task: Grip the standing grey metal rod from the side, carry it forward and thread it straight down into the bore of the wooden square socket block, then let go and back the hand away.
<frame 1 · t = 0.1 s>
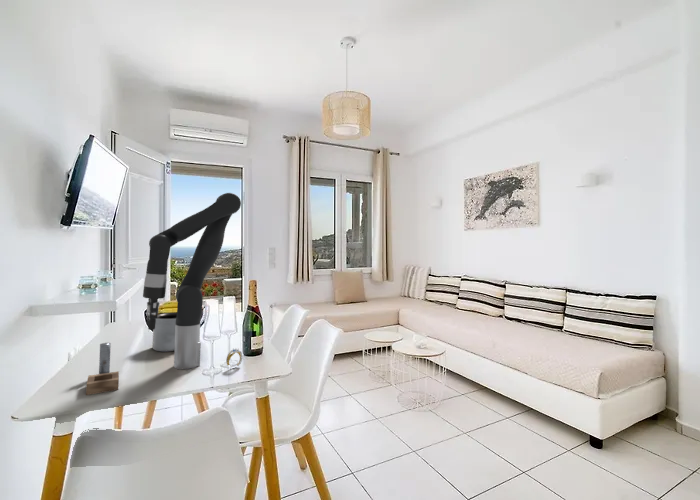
hand: (150, 327, 131), 17 cm above the table, tool pointing down, fingers open, 8 cm apart
ring: (234, 368, 138), on the table
planter: (171, 348, 163), on the table
wooden square socket block: (103, 387, 115), on the table
rod: (104, 376, 125), on the table
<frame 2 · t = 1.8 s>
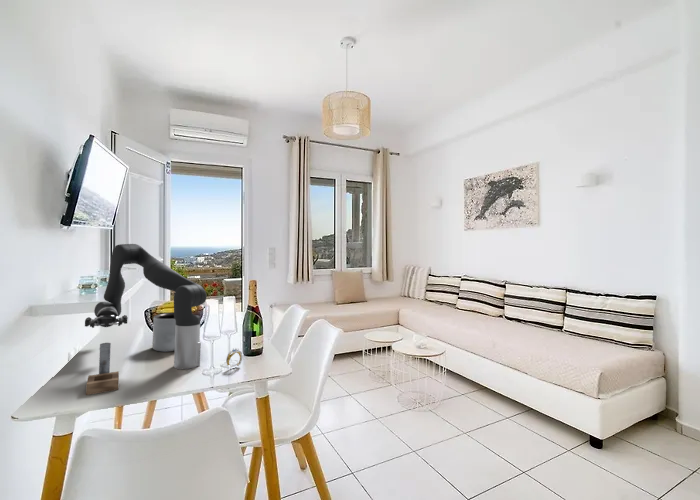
hand: (106, 324, 135), 17 cm above the table, tool horizontal, fingers open, 8 cm apart
nothing on the table moved.
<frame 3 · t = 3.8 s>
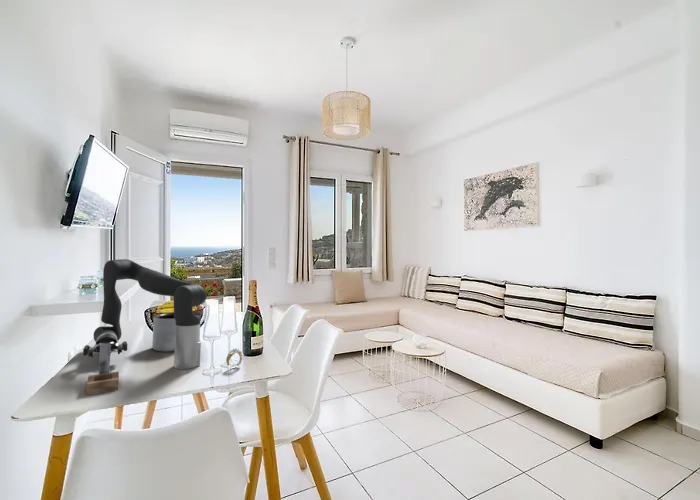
hand: (105, 353, 130), 7 cm above the table, tool horizontal, fingers open, 8 cm apart
nothing on the table moved.
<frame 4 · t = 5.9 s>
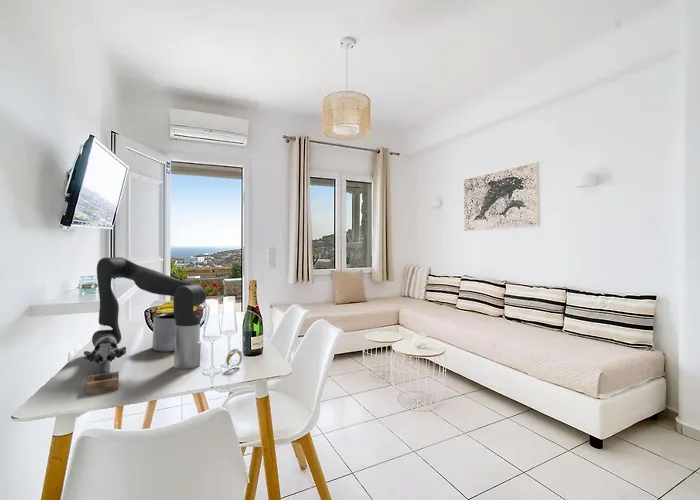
hand: (104, 359, 123), 7 cm above the table, tool horizontal, fingers closed on rod, 3 cm apart
rod: (104, 376, 125), on the table, touching gripper
everything else where it was.
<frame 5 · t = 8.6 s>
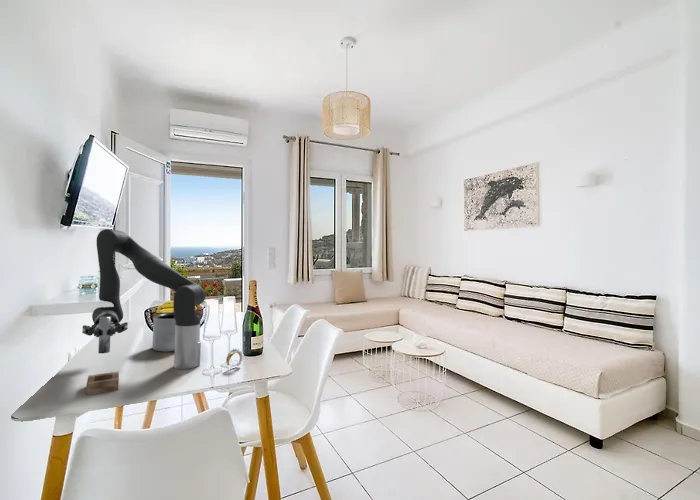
hand: (104, 333, 114), 19 cm above the table, tool horizontal, fingers closed on rod, 3 cm apart
rod: (104, 352, 116), point 12 cm above the table, touching gripper
everything else where it was.
when the fingers open (9 cm above the table, at t = 11.3 s): rod drops 2 cm, resting in wooden square socket block.
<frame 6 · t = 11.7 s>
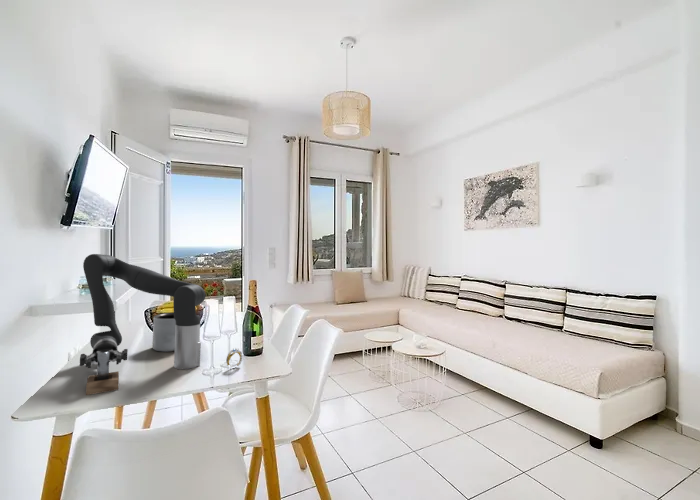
hand: (103, 363, 113), 9 cm above the table, tool horizontal, fingers open, 7 cm apart
rod: (102, 387, 115), resting in wooden square socket block
everything else where it was.
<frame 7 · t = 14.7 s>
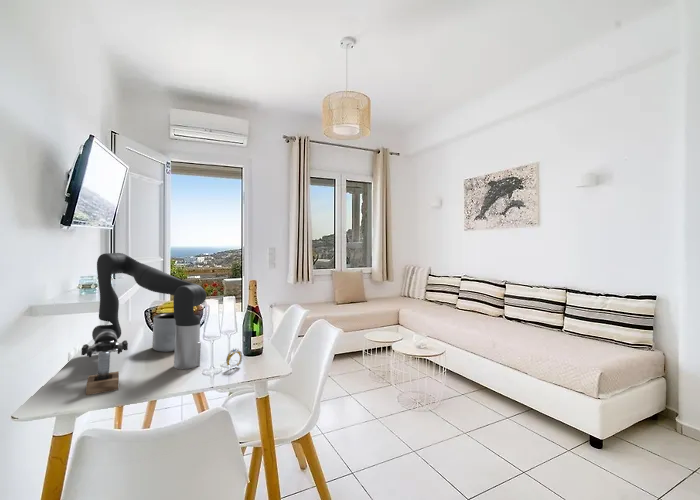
hand: (104, 352, 124), 9 cm above the table, tool horizontal, fingers open, 8 cm apart
nothing on the table moved.
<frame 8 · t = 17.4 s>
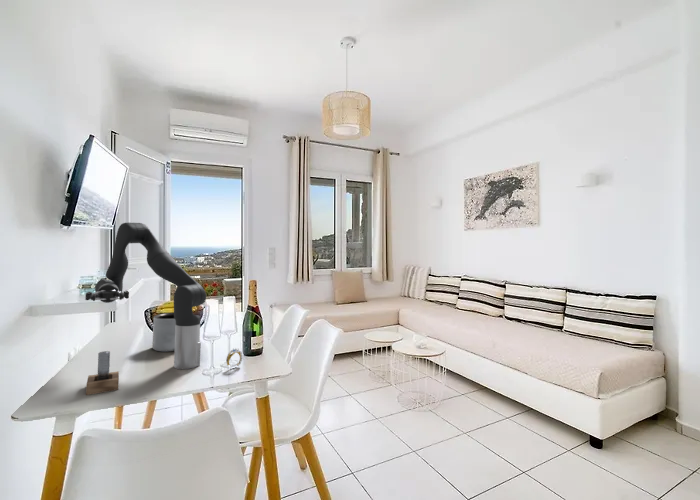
hand: (107, 297, 132), 28 cm above the table, tool horizontal, fingers open, 8 cm apart
nothing on the table moved.
at the end: rod 0.1 cm off-centre on the wooden square socket block, point 0.0 cm above the wooden square socket block's base; rod tilted 0°; the gripper is holding nothing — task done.
